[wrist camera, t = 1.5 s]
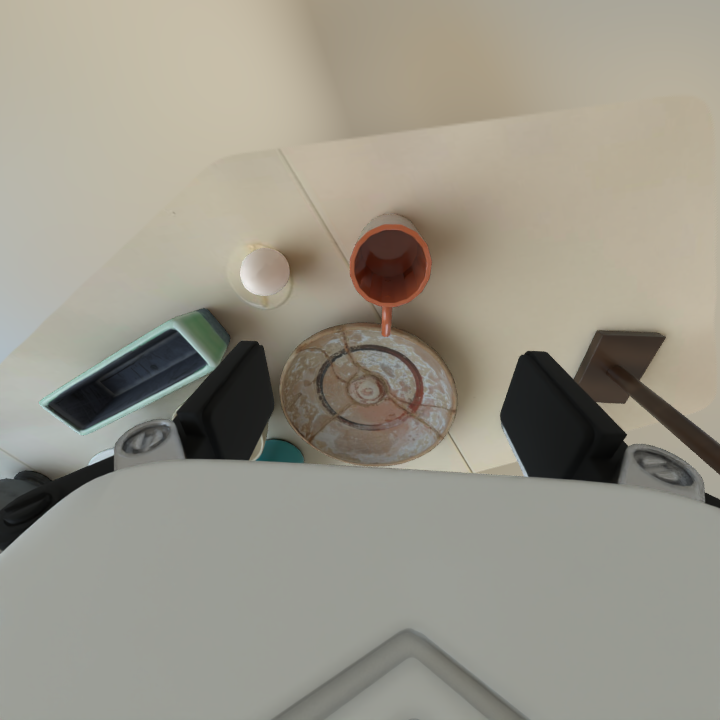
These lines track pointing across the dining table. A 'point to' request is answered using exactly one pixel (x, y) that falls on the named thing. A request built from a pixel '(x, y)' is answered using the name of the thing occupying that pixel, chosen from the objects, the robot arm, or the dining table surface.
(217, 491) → the robot arm
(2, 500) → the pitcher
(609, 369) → the bent pole stand
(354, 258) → the mug
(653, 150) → the dining table surface
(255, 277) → the egg
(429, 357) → the ceramic bowl
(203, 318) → the planter
